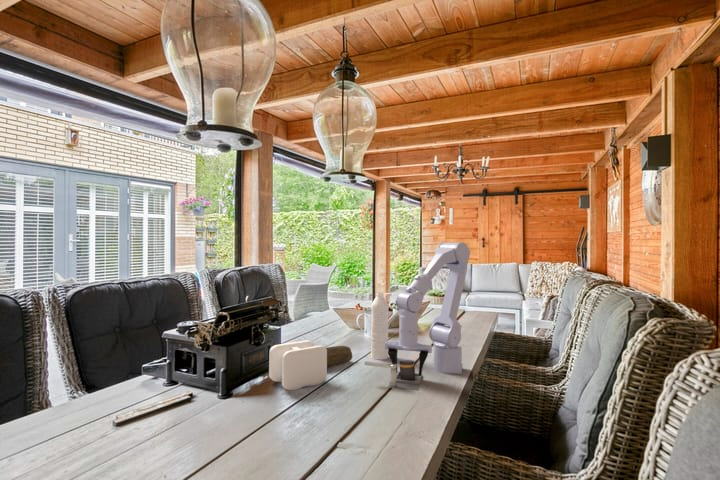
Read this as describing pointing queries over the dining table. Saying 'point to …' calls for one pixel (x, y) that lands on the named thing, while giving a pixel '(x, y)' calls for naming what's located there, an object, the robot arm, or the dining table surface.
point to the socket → (404, 381)
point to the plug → (407, 370)
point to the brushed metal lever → (381, 365)
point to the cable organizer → (298, 364)
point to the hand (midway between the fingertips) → (407, 373)
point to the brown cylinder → (338, 355)
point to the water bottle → (379, 327)
